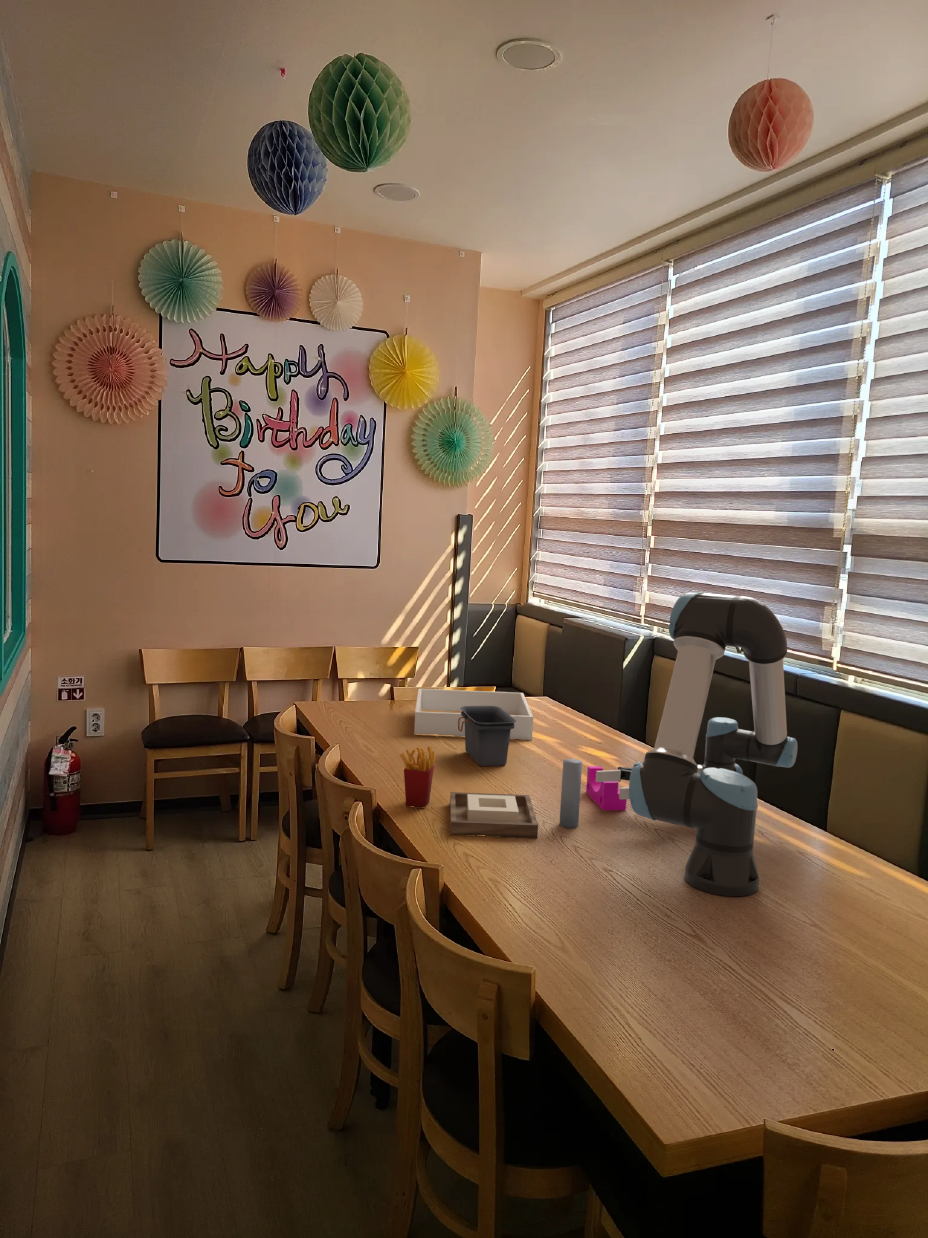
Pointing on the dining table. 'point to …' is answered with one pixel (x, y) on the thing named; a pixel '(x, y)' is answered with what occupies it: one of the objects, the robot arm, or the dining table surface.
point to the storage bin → (487, 734)
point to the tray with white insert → (462, 826)
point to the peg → (570, 793)
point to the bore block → (492, 808)
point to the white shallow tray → (460, 698)
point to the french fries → (418, 777)
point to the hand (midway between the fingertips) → (607, 784)
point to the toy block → (604, 791)
